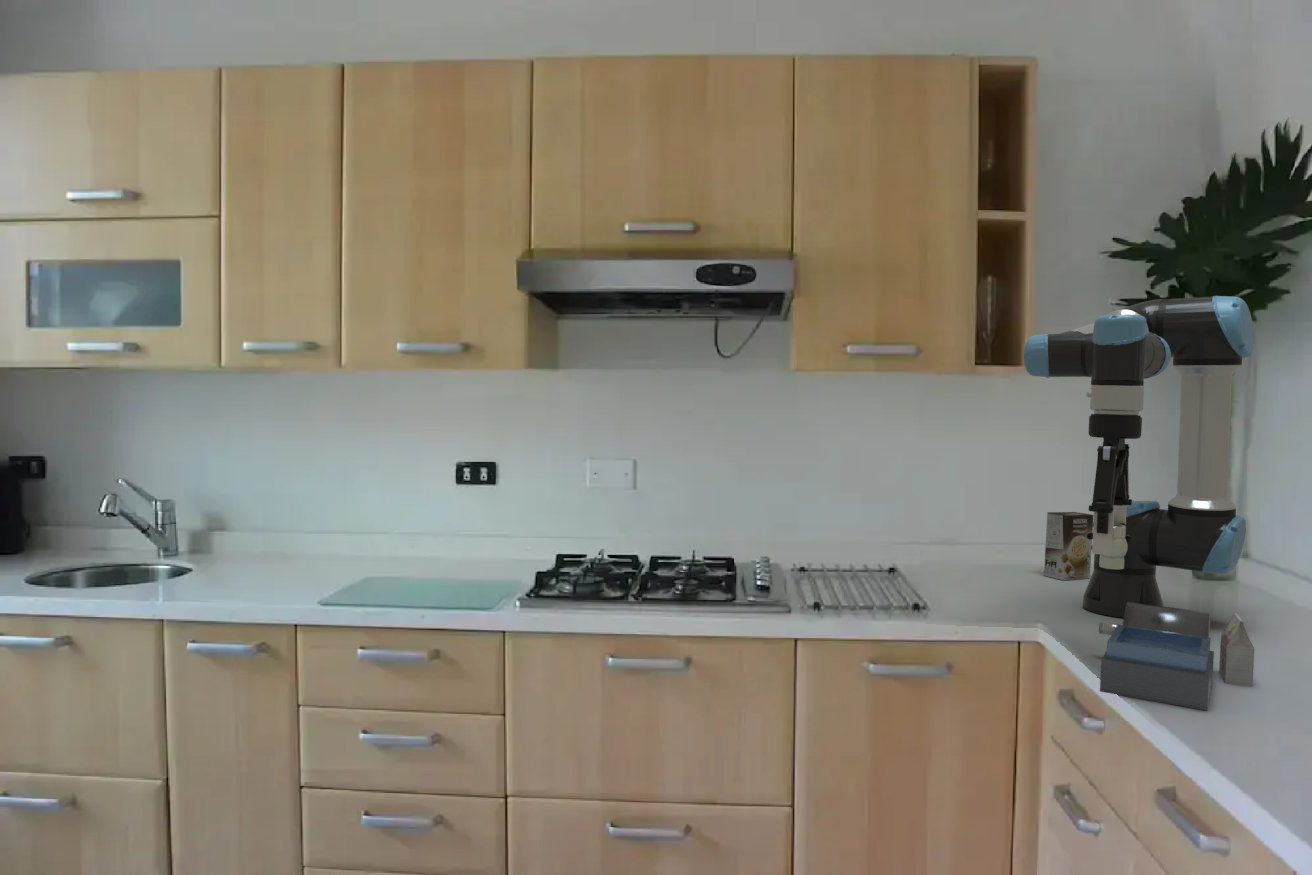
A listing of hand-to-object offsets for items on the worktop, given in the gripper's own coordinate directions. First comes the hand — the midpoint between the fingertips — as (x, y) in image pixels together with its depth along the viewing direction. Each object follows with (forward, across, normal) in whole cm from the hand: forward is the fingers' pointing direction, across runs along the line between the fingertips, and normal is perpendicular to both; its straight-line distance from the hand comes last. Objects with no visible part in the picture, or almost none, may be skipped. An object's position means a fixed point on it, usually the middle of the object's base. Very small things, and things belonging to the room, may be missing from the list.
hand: (1108, 549), depth 147 cm
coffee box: (+20, -84, -22) cm, 89 cm away
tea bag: (+21, -12, +18) cm, 30 cm away
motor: (+20, -4, +6) cm, 22 cm away
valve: (+2, 0, 0) cm, 2 cm away
